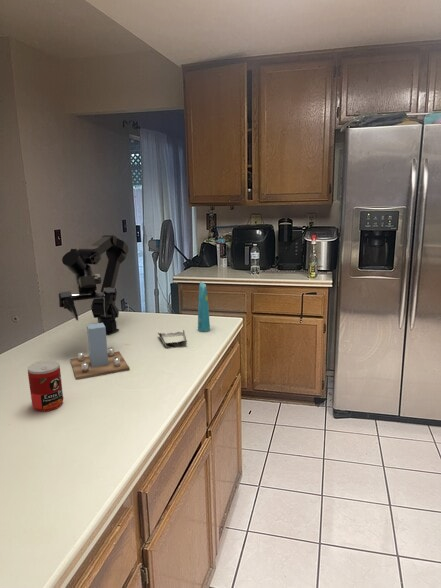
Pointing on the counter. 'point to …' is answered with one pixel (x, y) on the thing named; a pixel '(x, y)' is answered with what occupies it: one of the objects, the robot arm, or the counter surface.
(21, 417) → the counter surface
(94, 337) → the slate blue block
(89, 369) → the peg stand
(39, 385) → the canned food
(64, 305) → the robot arm
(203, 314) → the tube
